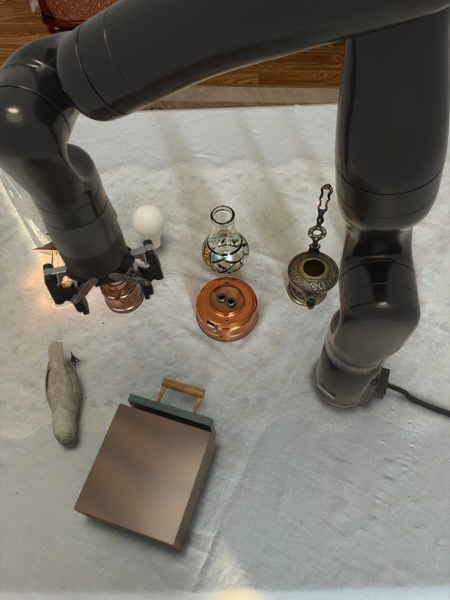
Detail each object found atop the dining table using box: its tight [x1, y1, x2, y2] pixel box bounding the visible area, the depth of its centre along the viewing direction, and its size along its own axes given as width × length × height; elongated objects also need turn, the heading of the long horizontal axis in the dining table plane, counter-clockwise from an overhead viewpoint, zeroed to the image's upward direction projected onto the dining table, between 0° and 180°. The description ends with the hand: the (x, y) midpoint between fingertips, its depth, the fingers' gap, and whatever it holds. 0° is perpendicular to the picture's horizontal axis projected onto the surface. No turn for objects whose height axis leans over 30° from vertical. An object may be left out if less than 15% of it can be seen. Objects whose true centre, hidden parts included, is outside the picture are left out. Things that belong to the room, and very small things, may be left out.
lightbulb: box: [131, 204, 166, 250], centre depth 99 cm, size 6×6×11 cm
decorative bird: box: [44, 340, 82, 448], centre depth 85 cm, size 5×16×8 cm, turn 11°
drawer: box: [127, 377, 217, 441], centre depth 80 cm, size 19×13×8 cm
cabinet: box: [73, 403, 216, 552], centre depth 77 cm, size 16×15×10 cm
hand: (117, 301), depth 73 cm, fingers open, 8 cm apart
